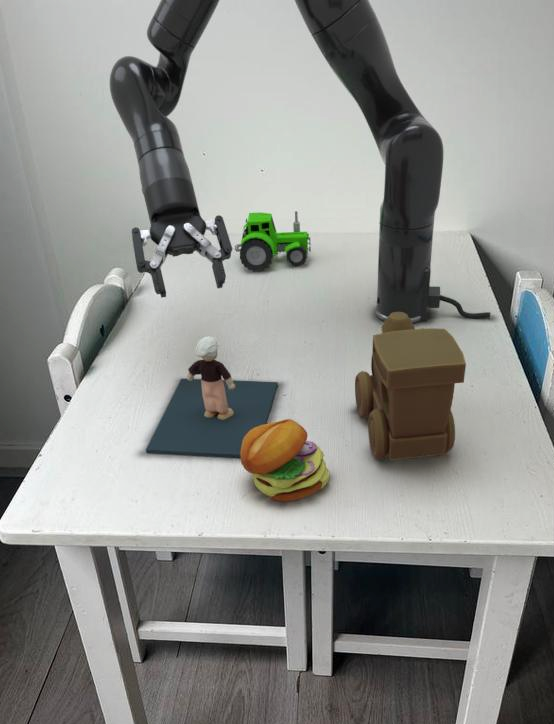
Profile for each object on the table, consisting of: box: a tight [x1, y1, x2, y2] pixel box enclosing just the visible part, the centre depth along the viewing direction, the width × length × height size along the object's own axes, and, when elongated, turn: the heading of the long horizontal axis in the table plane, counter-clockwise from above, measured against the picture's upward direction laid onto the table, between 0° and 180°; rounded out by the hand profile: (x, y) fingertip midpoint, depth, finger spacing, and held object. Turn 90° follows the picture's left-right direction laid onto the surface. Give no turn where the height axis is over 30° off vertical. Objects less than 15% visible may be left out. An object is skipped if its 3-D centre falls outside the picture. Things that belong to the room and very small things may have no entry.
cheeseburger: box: [240, 418, 330, 503], centre depth 97 cm, size 10×11×10 cm
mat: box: [145, 378, 279, 459], centre depth 112 cm, size 16×20×1 cm
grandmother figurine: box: [186, 335, 235, 420], centre depth 108 cm, size 8×4×13 cm, turn 79°
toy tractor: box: [234, 211, 312, 273], centre depth 157 cm, size 11×16×10 cm
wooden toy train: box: [354, 312, 467, 461], centre depth 102 cm, size 20×11×17 cm, turn 6°
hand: (192, 290), depth 109 cm, fingers open, 8 cm apart
